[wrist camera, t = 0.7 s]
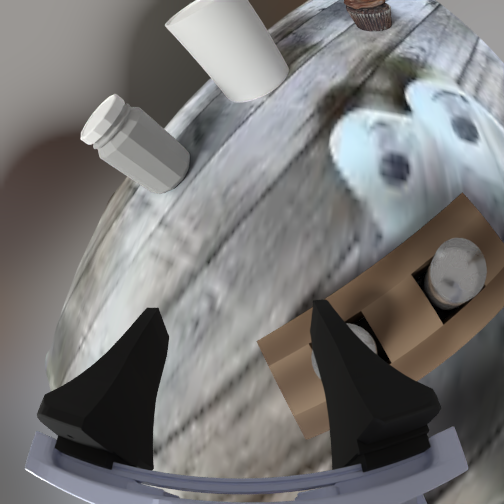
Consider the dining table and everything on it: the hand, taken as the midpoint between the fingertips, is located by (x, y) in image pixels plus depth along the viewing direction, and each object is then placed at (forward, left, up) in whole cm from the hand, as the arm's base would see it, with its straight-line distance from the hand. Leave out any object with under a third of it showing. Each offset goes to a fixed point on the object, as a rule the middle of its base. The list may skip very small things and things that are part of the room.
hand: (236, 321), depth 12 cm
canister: (+44, -15, -16) cm, 49 cm away
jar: (+36, +8, -16) cm, 40 cm away
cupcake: (+41, -45, -16) cm, 63 cm away
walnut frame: (-3, -7, -16) cm, 18 cm away
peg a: (-3, -12, -12) cm, 18 cm away
